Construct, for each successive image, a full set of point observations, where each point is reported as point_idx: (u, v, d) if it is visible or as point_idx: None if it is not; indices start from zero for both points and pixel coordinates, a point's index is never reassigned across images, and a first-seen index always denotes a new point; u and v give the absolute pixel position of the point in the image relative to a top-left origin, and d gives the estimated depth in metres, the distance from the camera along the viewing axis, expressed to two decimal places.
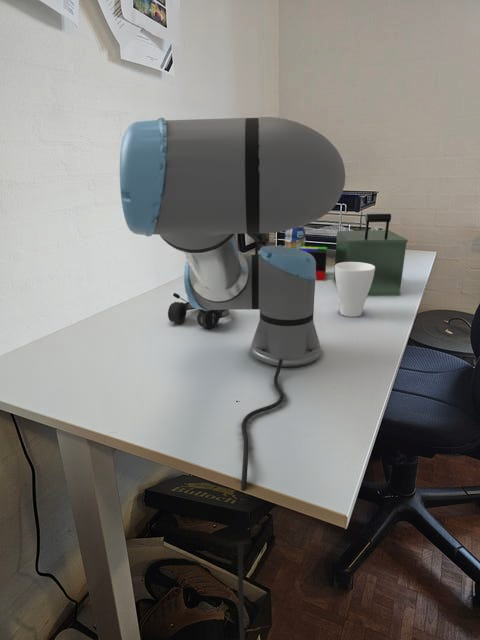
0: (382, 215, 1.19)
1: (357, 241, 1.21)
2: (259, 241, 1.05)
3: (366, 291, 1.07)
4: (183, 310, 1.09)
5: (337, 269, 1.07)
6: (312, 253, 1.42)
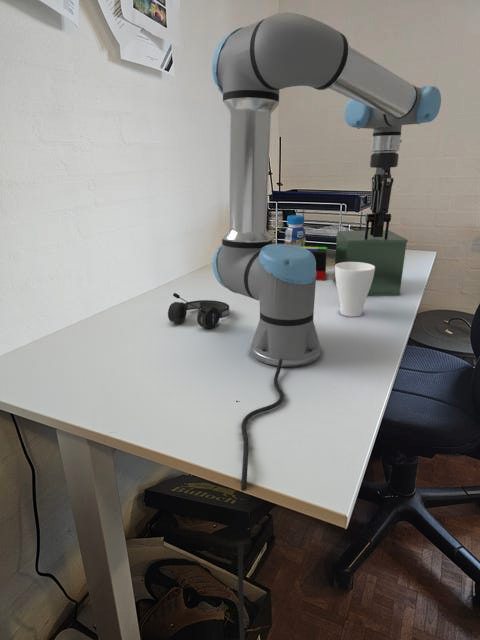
0: None
1: (357, 241, 1.21)
2: (377, 211, 1.17)
3: (366, 291, 1.07)
4: (183, 310, 1.09)
5: (337, 269, 1.07)
6: (312, 253, 1.42)
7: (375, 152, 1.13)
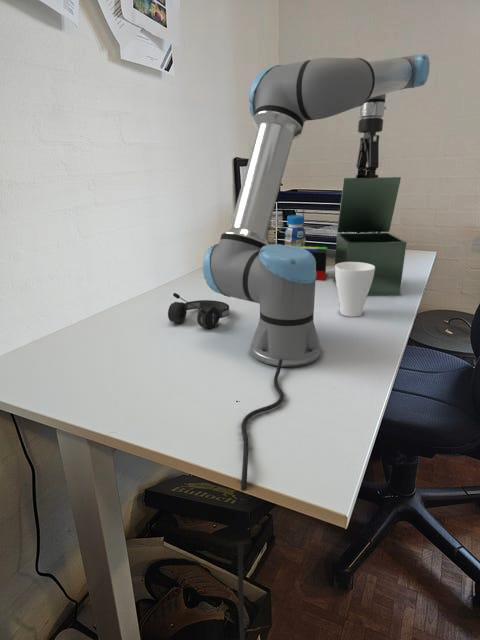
0: None
1: (352, 178, 1.26)
2: (368, 166, 1.26)
3: (366, 291, 1.07)
4: (183, 310, 1.09)
5: (337, 269, 1.07)
6: (312, 253, 1.42)
7: (362, 118, 1.26)
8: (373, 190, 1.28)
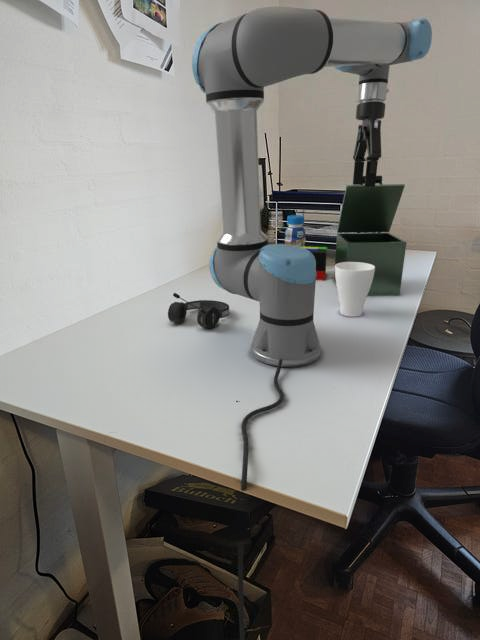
0: None
1: (355, 185, 1.23)
2: (368, 156, 1.06)
3: (366, 291, 1.07)
4: (183, 310, 1.09)
5: (337, 269, 1.07)
6: (312, 253, 1.42)
7: (361, 102, 1.07)
8: (375, 197, 1.26)
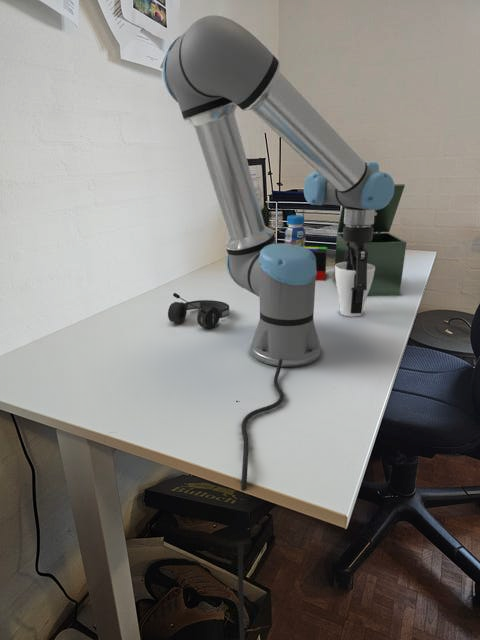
0: None
1: None
2: (354, 286, 1.03)
3: (366, 291, 1.07)
4: (183, 310, 1.09)
5: (337, 269, 1.07)
6: None
7: (348, 225, 1.03)
8: None
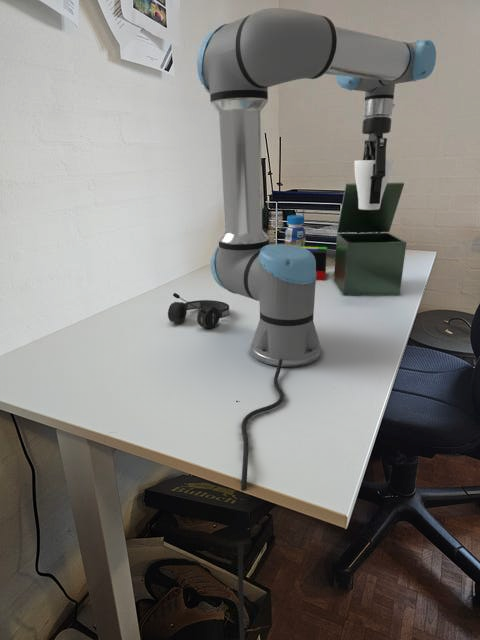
0: None
1: (354, 183, 1.24)
2: (373, 175, 1.10)
3: (384, 183, 1.13)
4: (183, 310, 1.09)
5: (357, 162, 1.13)
6: (312, 253, 1.42)
7: (367, 117, 1.09)
8: None
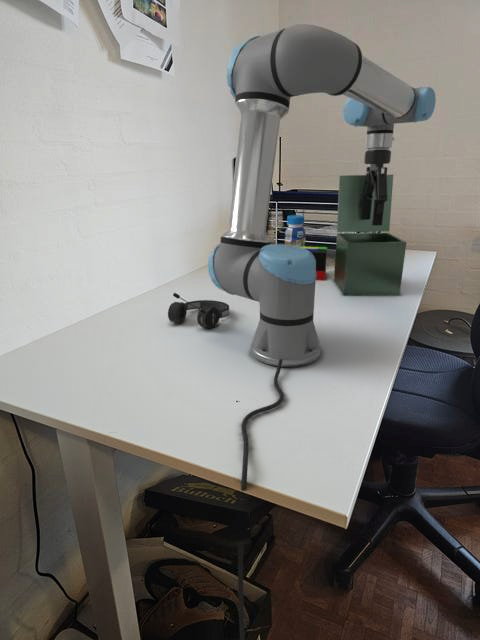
0: None
1: None
2: (376, 199, 1.18)
3: None
4: (183, 310, 1.09)
5: None
6: (312, 253, 1.42)
7: (369, 149, 1.19)
8: None
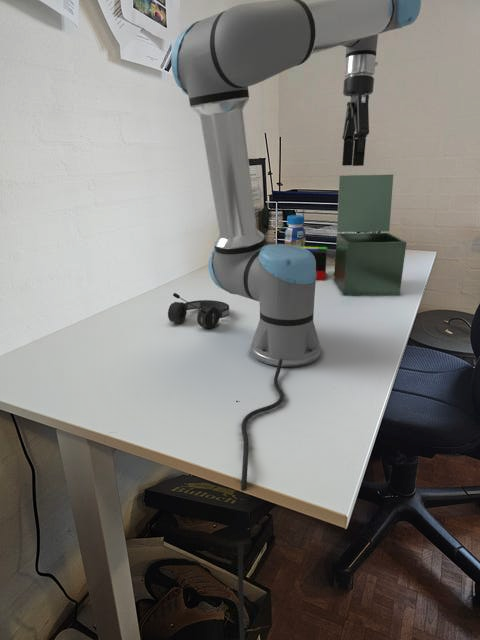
0: None
1: None
2: (356, 133, 1.01)
3: None
4: (183, 310, 1.09)
5: None
6: (312, 253, 1.42)
7: (348, 76, 1.02)
8: (368, 187, 1.34)
